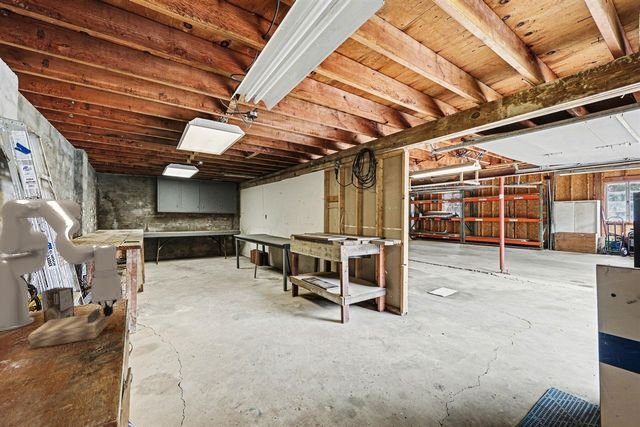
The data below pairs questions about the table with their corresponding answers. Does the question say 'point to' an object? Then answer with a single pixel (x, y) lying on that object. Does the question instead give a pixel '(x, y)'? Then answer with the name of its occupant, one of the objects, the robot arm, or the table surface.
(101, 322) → the base
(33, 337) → the light brown flat piece
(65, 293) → the coffee box
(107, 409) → the table surface
